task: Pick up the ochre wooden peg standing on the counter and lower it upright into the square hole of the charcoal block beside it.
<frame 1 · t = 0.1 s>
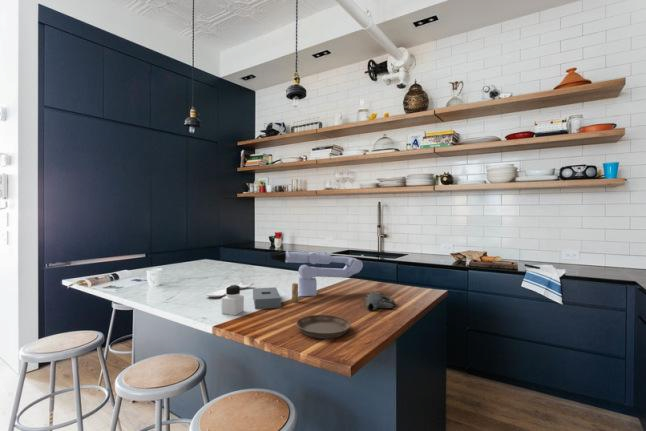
hand: (270, 256, 180), 22 cm above the worktop, tool horizontal, fingers open, 7 cm apart
peg: (294, 301, 170), on the worktop
spoon: (229, 293, 189), on the worktop
hole block: (266, 301, 170), on the worktop
grey tapered shape: (380, 305, 167), on the worktop
medicine bottle: (232, 312, 152), on the worktop
plant saucer: (323, 331, 131), on the worktop
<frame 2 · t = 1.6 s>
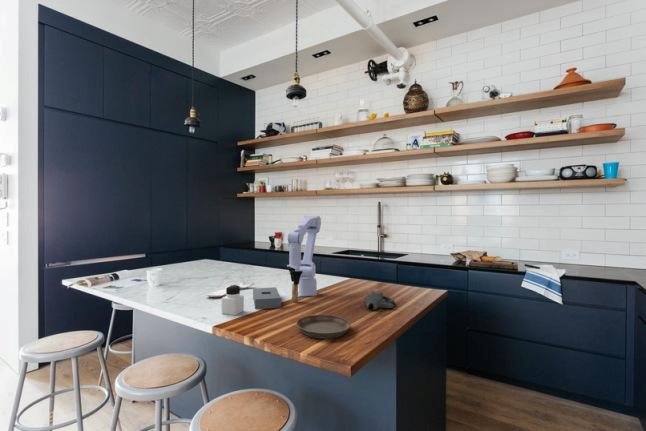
hand: (295, 283, 170), 9 cm above the worktop, tool pointing down, fingers open, 7 cm apart
nothing on the worktop moved.
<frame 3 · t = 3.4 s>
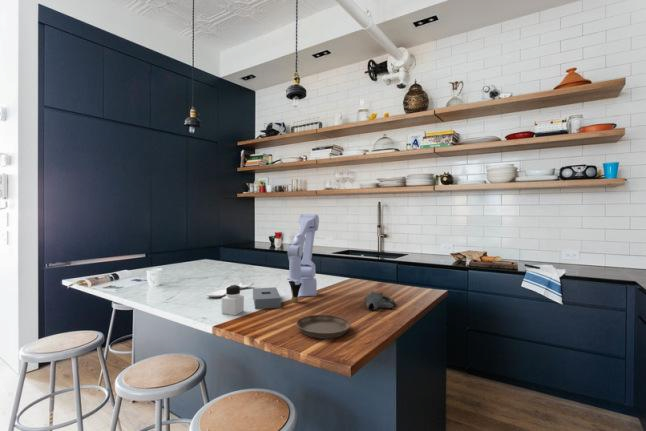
hand: (294, 296, 170), 3 cm above the worktop, tool pointing down, fingers closed on peg, 3 cm apart
peg: (294, 301, 170), on the worktop, touching gripper
everything else where it was.
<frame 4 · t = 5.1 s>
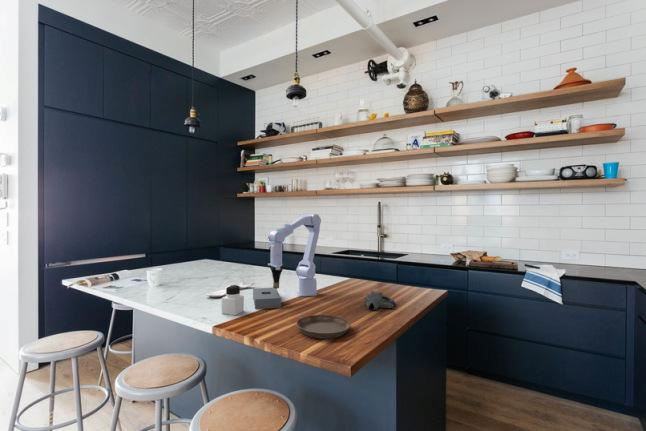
hand: (276, 282, 170), 10 cm above the worktop, tool pointing down, fingers closed on peg, 3 cm apart
peg: (276, 287, 170), point 7 cm above the worktop, touching gripper
everything else where it was.
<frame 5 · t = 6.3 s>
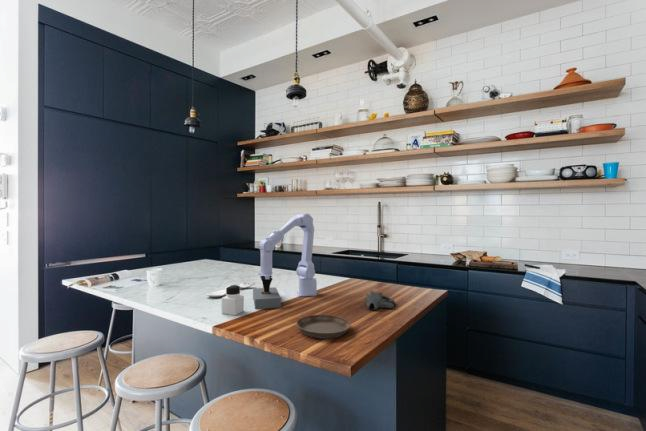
hand: (266, 290, 170), 5 cm above the worktop, tool pointing down, fingers closed on peg, 3 cm apart
peg: (266, 296, 170), point 3 cm above the worktop, touching gripper
everything else where it was.
when the fingers open (5 cm above the worktop, at t = 7.0 s): peg drops 2 cm, resting in hole block.
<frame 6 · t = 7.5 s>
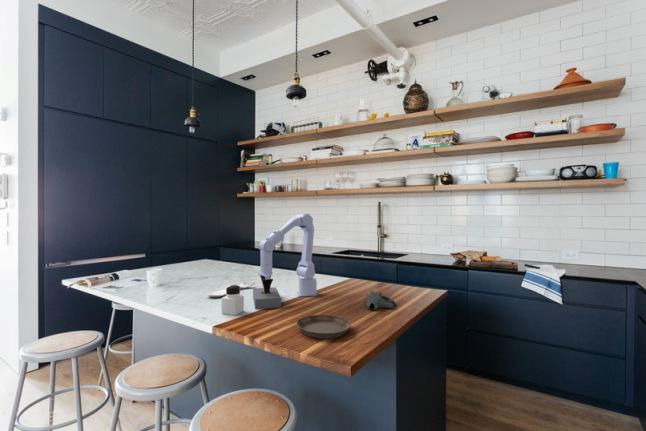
hand: (266, 291, 170), 5 cm above the worktop, tool pointing down, fingers open, 7 cm apart
peg: (266, 301, 170), resting in hole block
everything else where it was.
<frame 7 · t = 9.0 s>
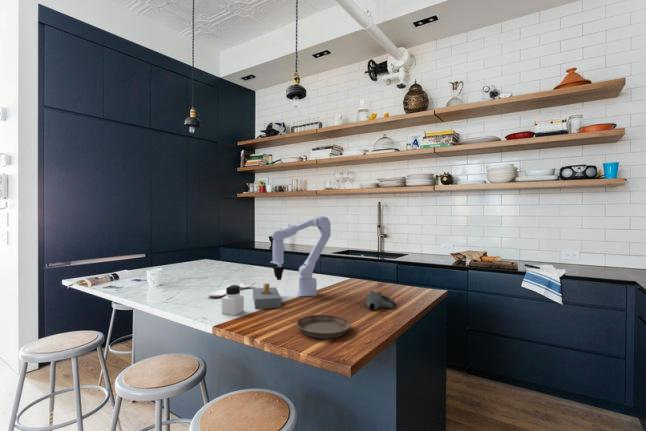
hand: (278, 278, 182), 9 cm above the worktop, tool pointing down, fingers open, 7 cm apart
nothing on the worktop moved.
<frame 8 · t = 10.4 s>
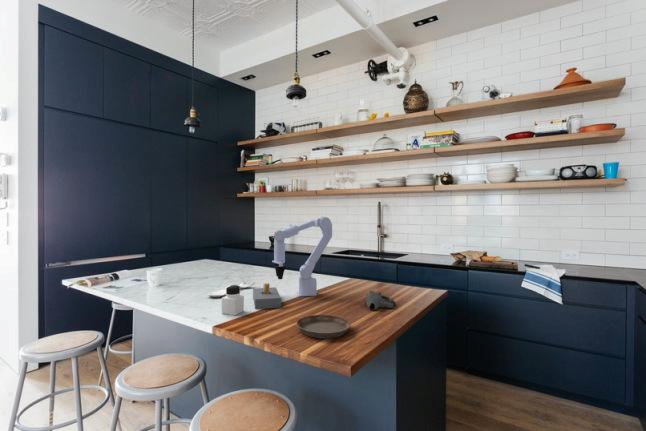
hand: (279, 277, 183), 9 cm above the worktop, tool pointing down, fingers open, 7 cm apart
nothing on the worktop moved.
at the end: peg 0.1 cm off-centre on the hole block, point 0.0 cm above the hole block's base; peg tilted 0°; the gripper is holding nothing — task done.
